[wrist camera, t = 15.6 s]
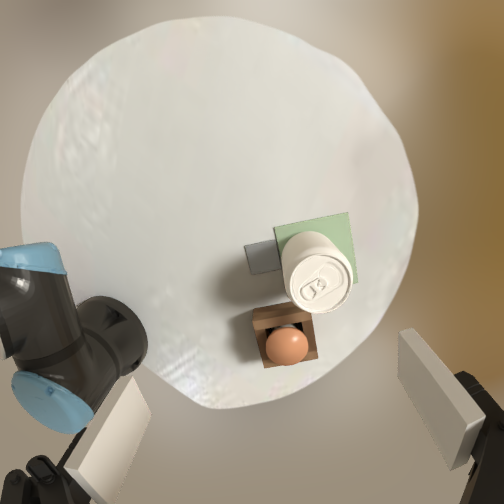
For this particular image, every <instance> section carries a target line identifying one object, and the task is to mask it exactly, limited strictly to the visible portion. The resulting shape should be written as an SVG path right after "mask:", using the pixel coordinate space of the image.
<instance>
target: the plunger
mask: <svg viewBox="0 0 504 504" xmlns="http://www.w3.org/2000/svg"><path fill="white" fill-rule="evenodd" d="M307 352H308V341H307V338H306V336H305V334H304V333H303V332H302V331H301V330H299V326H298V324H297V323H293V324H288V325H282V326H277V327H272V333H271V334H270V335H269V337H268V338H267V341H266V353H267V355H268V357H269V358H270V359H271V360H272V361H273V362H274V363H276V364H279V365H284V366H288V365H294V364H296V363H298V362H300V361H301V360H302V359H303V358H304V357H305V356H306V354H307Z"/></svg>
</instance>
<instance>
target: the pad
mask: <svg viewBox="0 0 504 504" xmlns="http://www.w3.org/2000/svg"><path fill="white" fill-rule="evenodd" d="M274 228H275V233H276V237H277V242H278V247H279V252H280V256H281V257H282V251H283V249H284V246H285V245H286V243H287V242H288V241H289V240H290V239H291V238H292V237H293V236H295V235H296V234H298V233H301V232H305V231H315V232H318V233H321V234H323V235H325V236H326V237H327V238H328V239H329V240H330V241H331V242H332V243H333V244H334V245H335V246H336V247H337V248H338V249H339V251H340V252H341V253H342V254H343V255H344V256H345V257H346V258H347V260H348V261H349V263H350V265H351V268H352V272H353V283H352V284H355V283H358V277H357V269H356V262H355V254H354V247H353V240H352V234H351V228H350V221H349V216H348V212H347V213H342V214H337V215H332V216H327V217H322V218H317V219H312V220H307V221H303V222H298V223H293V224H288V225H283V226H279V227H274Z"/></svg>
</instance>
